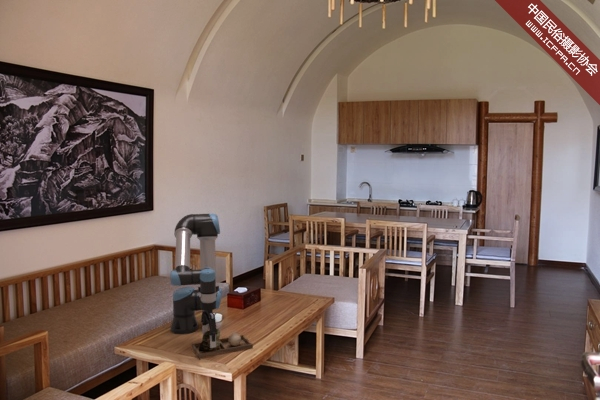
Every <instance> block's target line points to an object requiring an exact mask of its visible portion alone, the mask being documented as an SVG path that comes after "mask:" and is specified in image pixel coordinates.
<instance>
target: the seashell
mask: <svg viewBox="0 0 600 400" xmlns="http://www.w3.org/2000/svg"><path fill="white" fill-rule="evenodd" d="M209 334H211V333H210V330H208V331H207V332H205V333H204V336H203V335H202V341H200V343H201V344H200V345H199V351H208V352H210V351H214V350H217V349H218V348H219V345H220V341H219V339H221V338H220V337H221V329H220V328H217V335H216V347H214V348H210V336H209Z"/></svg>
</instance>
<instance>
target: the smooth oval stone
mask: <svg viewBox="0 0 600 400" xmlns="http://www.w3.org/2000/svg"><path fill="white" fill-rule="evenodd" d="M240 335H241V334H239V333H237V332H232V333H230V334H229V336H228V337H227V338H228V342H229V344H230V345H232V346H237V345H239V344H240V342H241V336H240Z"/></svg>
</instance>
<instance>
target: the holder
mask: <svg viewBox="0 0 600 400" xmlns="http://www.w3.org/2000/svg"><path fill="white" fill-rule="evenodd" d="M239 335H240V336H241V342H240V344H239V345H237V346H232V345H230V344H229V342H228V338H229V337H224V338H219V341H220V345H219V348H218V349H217V350H214V351H210V352H208V351H199V345H200V344H201V342H195V343H191V351H192V352H193V353H194V355H195V357H196V358H197V359H198V360H199V361H200V360H201V359H204V358H210V357H215V356H220V355H225V354H230V353H235V352H240V351H245V350H251V349H254V348H253V347H254V344H253V343H252V342H251V341H250V340H249V338H247V337H246V336H245V335H244V334H239Z"/></svg>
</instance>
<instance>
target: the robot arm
mask: <svg viewBox="0 0 600 400" xmlns="http://www.w3.org/2000/svg"><path fill="white" fill-rule="evenodd" d="M220 234H221V228H220V221H219V217H218V215H217V214H216V213H194V214H193V213H190V214H187V215H185V216H183V217H181V218H180V220H179V221H178V222H177V223H176V226H175V228H174V238H175V259H174V260H175V261H174V262H175V263H174V269H173V270H171V271H170V285H171V286H173V287H174V286H177V287H179V286H183V287H180V288H177V289H175V290H174V291H173V293H172V309H173V310H172V312H173V317H172V320H171V324H170V332H171V333H173V334H175V335H176V334H177V335H186V334H187V335H189V334H191V333H194V332H196V331H198V329H199V323H198V320H197V317H196V315H195V314H196V313H195V312H196V311H197V312H198V311H200V312H201V318H200V322H201V325H202V328H201V329H202V337H203V336H204V333H205V332H207V331H210V333H211V334H209V336H210V348H214V347H216V335H217V329H218V328H217V323H216V322H217V321H216V313H214V312H213V310H218V309H220V307H221V301H222V288H221V287H220V284H219V283H217V263H216V261H217V260H216V240H217V239H218V237H219V236H218V235H220ZM194 235H196V238H197V239H198V240H199V258H200V259H199V260H200V261H199V264H200V269H191V239H192V236H194ZM191 285H193V286H195V285H196V286H197V285H198V286H197V289H195V287H193V286H191Z"/></svg>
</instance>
